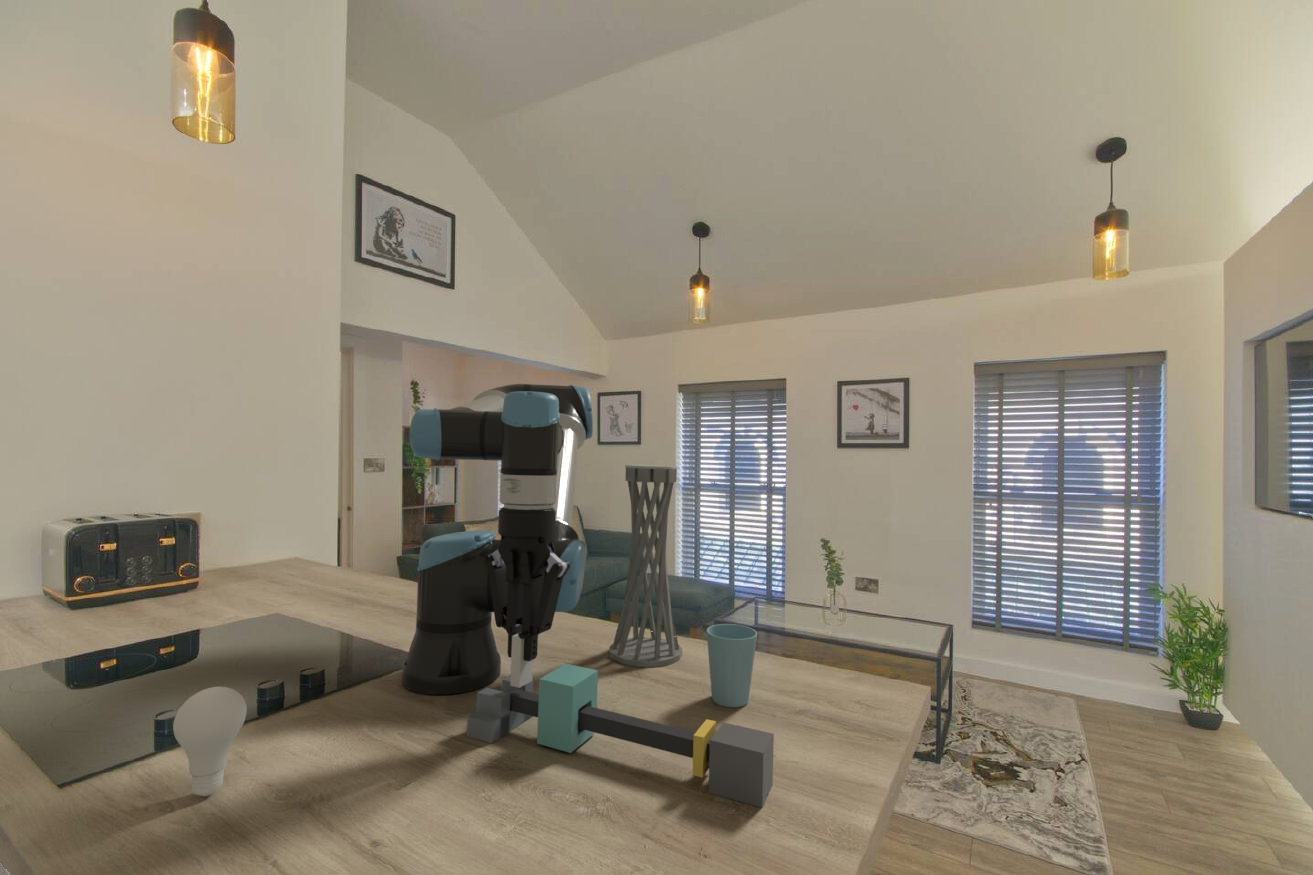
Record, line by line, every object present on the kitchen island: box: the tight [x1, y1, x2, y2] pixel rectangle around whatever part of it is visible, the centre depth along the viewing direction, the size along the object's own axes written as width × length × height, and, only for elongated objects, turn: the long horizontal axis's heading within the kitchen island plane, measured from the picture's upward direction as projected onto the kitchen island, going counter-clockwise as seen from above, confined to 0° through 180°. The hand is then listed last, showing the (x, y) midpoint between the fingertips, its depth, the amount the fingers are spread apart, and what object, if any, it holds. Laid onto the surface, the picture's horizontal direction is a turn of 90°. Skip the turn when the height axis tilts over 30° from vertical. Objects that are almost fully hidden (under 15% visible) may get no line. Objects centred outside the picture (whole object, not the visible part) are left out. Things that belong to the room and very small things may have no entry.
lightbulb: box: [172, 686, 248, 798], centre depth 60 cm, size 6×6×11 cm
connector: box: [708, 721, 775, 809], centre depth 64 cm, size 6×5×6 cm
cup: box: [706, 623, 758, 708], centre depth 87 cm, size 8×8×10 cm
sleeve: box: [536, 663, 599, 754], centre depth 74 cm, size 5×6×8 cm
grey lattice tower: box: [608, 464, 683, 668], centre depth 107 cm, size 14×13×35 cm
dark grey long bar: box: [510, 689, 717, 778], centre depth 70 cm, size 34×4×4 cm, turn 66°
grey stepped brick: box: [466, 674, 534, 744], centre depth 78 cm, size 4×10×5 cm, turn 155°
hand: (521, 682), depth 77 cm, fingers closed
